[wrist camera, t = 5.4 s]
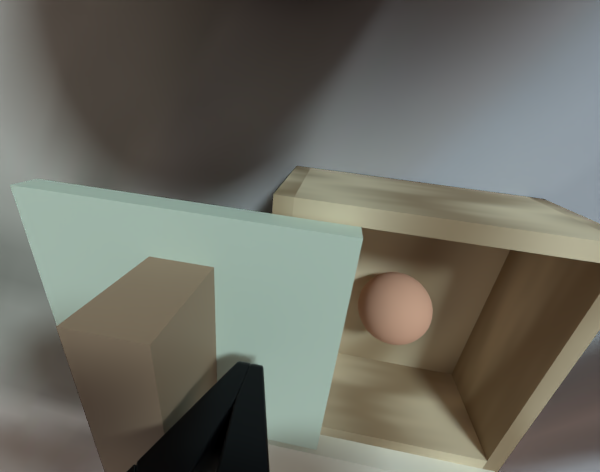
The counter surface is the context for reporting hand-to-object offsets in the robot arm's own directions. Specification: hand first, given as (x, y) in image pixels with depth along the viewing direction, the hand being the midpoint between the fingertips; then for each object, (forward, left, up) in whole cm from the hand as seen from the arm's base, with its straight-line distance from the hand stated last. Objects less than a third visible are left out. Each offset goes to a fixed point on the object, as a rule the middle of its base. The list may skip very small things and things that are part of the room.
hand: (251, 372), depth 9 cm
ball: (-5, 0, -4) cm, 7 cm away
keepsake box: (-5, +5, -6) cm, 9 cm away
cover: (+2, 0, -2) cm, 3 cm away
